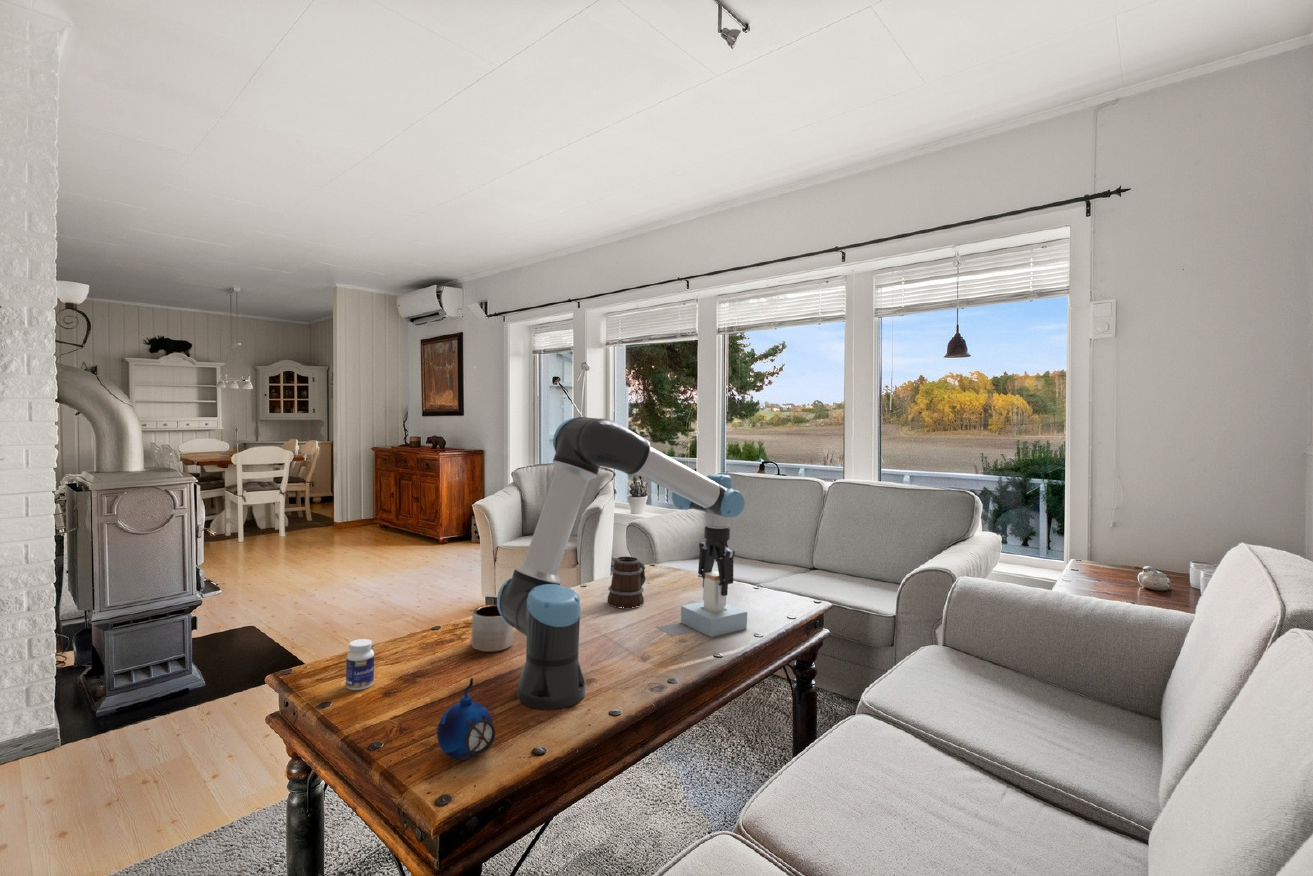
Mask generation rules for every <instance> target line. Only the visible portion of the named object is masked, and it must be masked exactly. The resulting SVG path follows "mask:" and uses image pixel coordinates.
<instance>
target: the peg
mask: <svg viewBox="0 0 1313 876" xmlns="http://www.w3.org/2000/svg"><path fill="white" fill-rule="evenodd" d="M719 583H720V578H719V572H718V571H717V570H716V571H712V572H708V573H705V589H704V600H703V602H704V610H707V611H709V612H711V613H717V612H721V611H724V610H725V606H721V607H718V606H717V601H718V584H719Z"/></svg>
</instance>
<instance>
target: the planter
mask: <svg viewBox="0 0 1313 876" xmlns="http://www.w3.org/2000/svg"><path fill="white" fill-rule="evenodd" d="M471 615H472V618H471V621H472V622H471V642H470V643H471V647H472V649H474V650H476V651H477V652H480V653H497V652H502V651H505V650H507V649H509V648H511V646H512V645H513V643H514V627H512V626H511V625H509V624H508V623H507V622H506V621H505V620H504V618H503V617H502V616H501V615H500V613H499V610H498V607H497V603H496V604H485V605H482V606H478V607H476V608H474V609H473V610H472V614H471Z"/></svg>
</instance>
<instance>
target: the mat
mask: <svg viewBox="0 0 1313 876" xmlns="http://www.w3.org/2000/svg"><path fill="white" fill-rule="evenodd" d="M656 629H659V630H661V631H662V632H664V633H666V634H667V635H670V636H672V637H674V636H675V637H676V636H680V635H684V634H688V633H692V632H695V629H693V628H691V627H690V628H689V626H687V625H685V624H684V625H683V623H682V624H681V622H680V623H679V622H676V623H670V624H666V625H662V626H656Z"/></svg>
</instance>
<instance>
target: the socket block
mask: <svg viewBox="0 0 1313 876" xmlns="http://www.w3.org/2000/svg"><path fill="white" fill-rule="evenodd" d="M680 607H681V608H680V624H681V623H682V625H683V624H684V626H686V627H688V628H689V627H690V629H692V630H694V631H695V630H696V631H697V632H700V633H702V634H704V635H706V636H708V637H710V638H711V637H712V638H713V637H716V636H721V635H725V634H730V633H734V632H738V631H742V630H746V628H747V629H748V627H747V626H748V611H747V610H744V609H742V608H740V607H737V606H734V605H732V604H729V603H727V602H726V606H725V610H724V611H721V612H717V613H711V612H709V611H707V610H704V601H700V602H695V603H689V604H685V605H681V606H680Z"/></svg>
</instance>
